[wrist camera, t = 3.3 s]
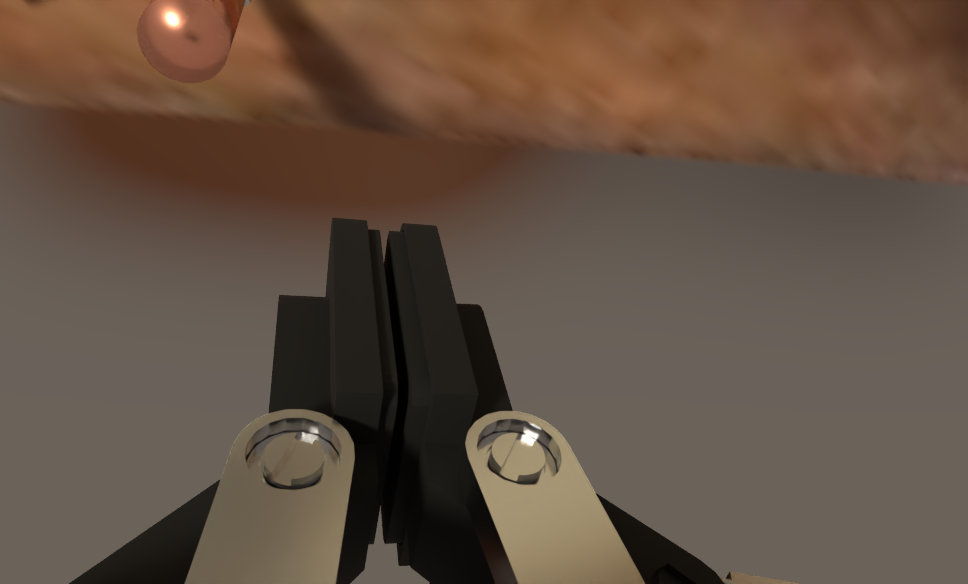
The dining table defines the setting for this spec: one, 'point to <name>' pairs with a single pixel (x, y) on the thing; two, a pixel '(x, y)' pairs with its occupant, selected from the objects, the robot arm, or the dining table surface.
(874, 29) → the dining table surface
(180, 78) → the crank
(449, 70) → the dining table surface
